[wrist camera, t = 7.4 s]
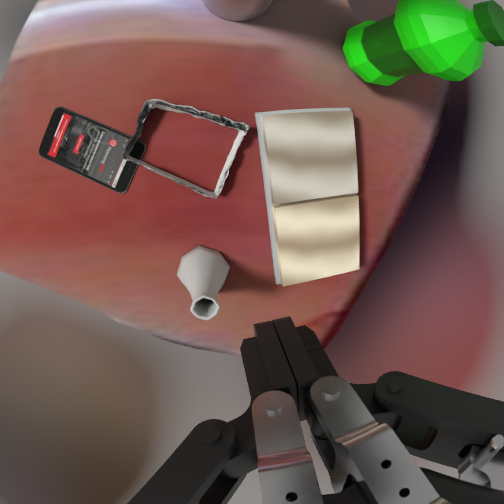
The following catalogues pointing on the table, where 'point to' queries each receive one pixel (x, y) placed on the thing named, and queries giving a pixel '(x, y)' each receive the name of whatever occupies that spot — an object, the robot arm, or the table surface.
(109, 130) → the smartphone
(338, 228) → the cream wavy square sheet
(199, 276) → the flask
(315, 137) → the laid plank
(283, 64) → the table surface
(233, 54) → the table surface
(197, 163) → the table surface
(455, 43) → the plastic bottle
